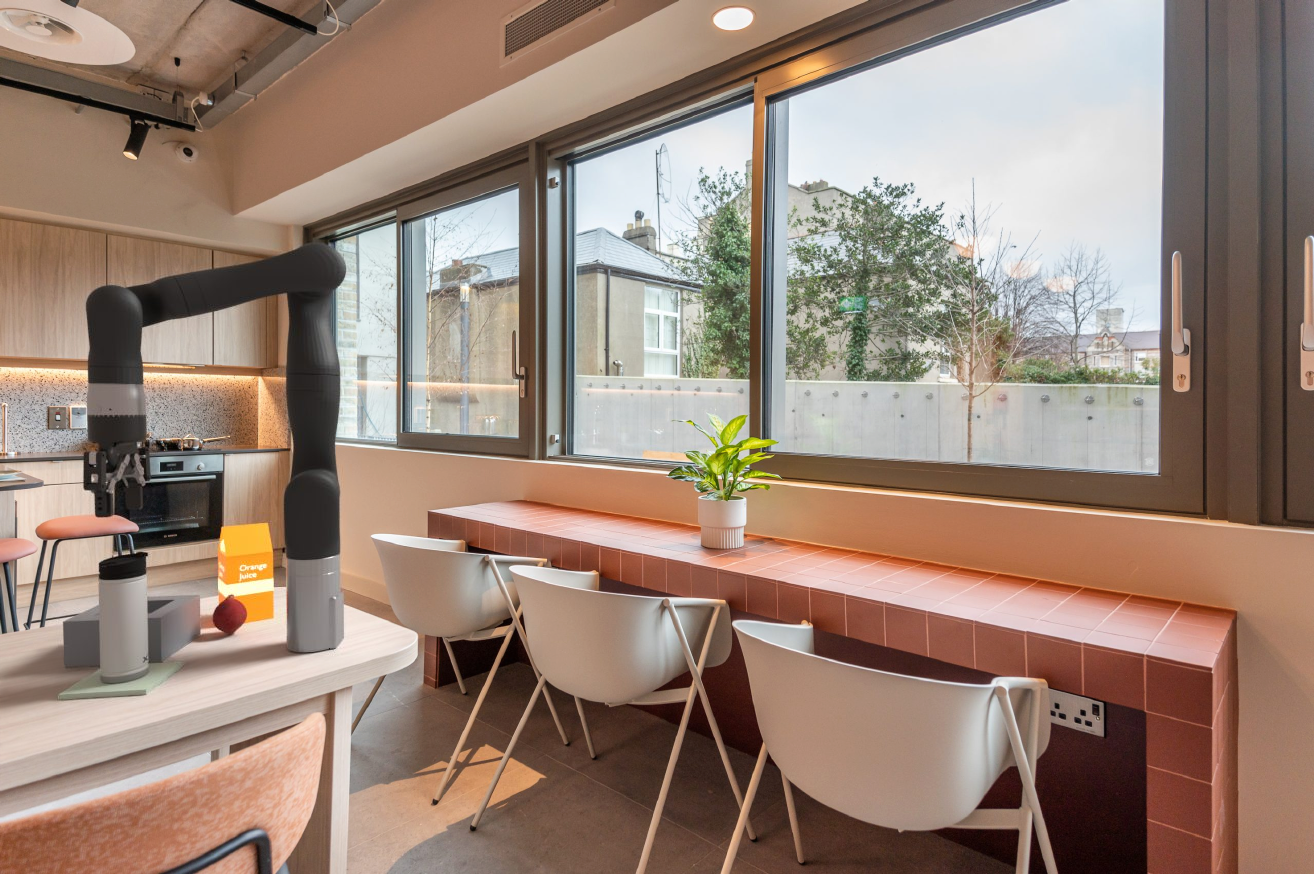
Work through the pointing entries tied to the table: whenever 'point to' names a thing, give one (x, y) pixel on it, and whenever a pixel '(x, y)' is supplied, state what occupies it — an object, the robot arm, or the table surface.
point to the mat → (141, 686)
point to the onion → (229, 615)
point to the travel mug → (123, 618)
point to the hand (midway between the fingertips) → (120, 513)
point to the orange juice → (247, 569)
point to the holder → (167, 630)
